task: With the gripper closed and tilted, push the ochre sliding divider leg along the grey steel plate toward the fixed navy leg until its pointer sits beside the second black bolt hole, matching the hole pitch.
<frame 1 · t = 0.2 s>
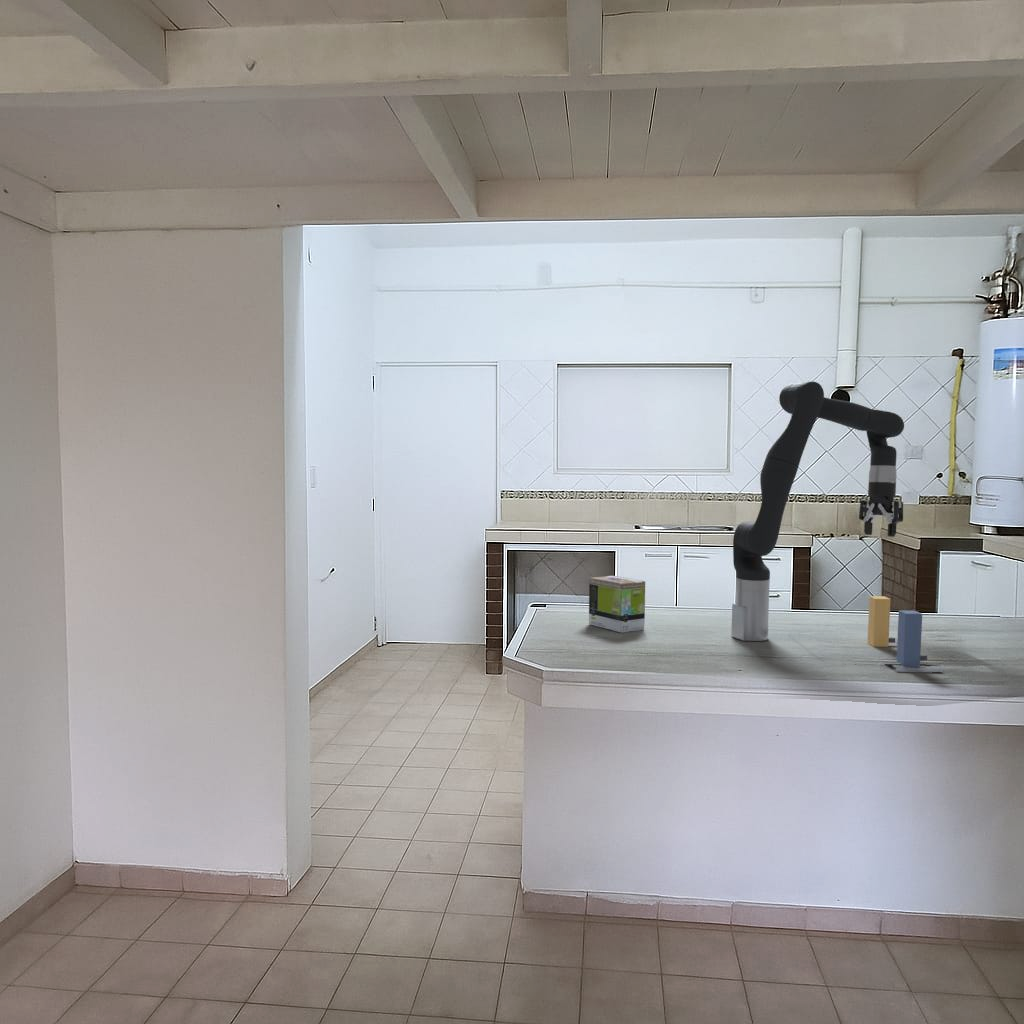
hand: (879, 535, 250), 28 cm above the worktop, fingers open, 8 cm apart
bolt plate: (896, 658, 217), on the worktop
tea box: (616, 627, 253), on the worktop
fixed leg: (907, 667, 208), resting on bolt plate
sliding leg: (883, 621, 226), point 8 cm above the worktop, slide at 0.0 cm
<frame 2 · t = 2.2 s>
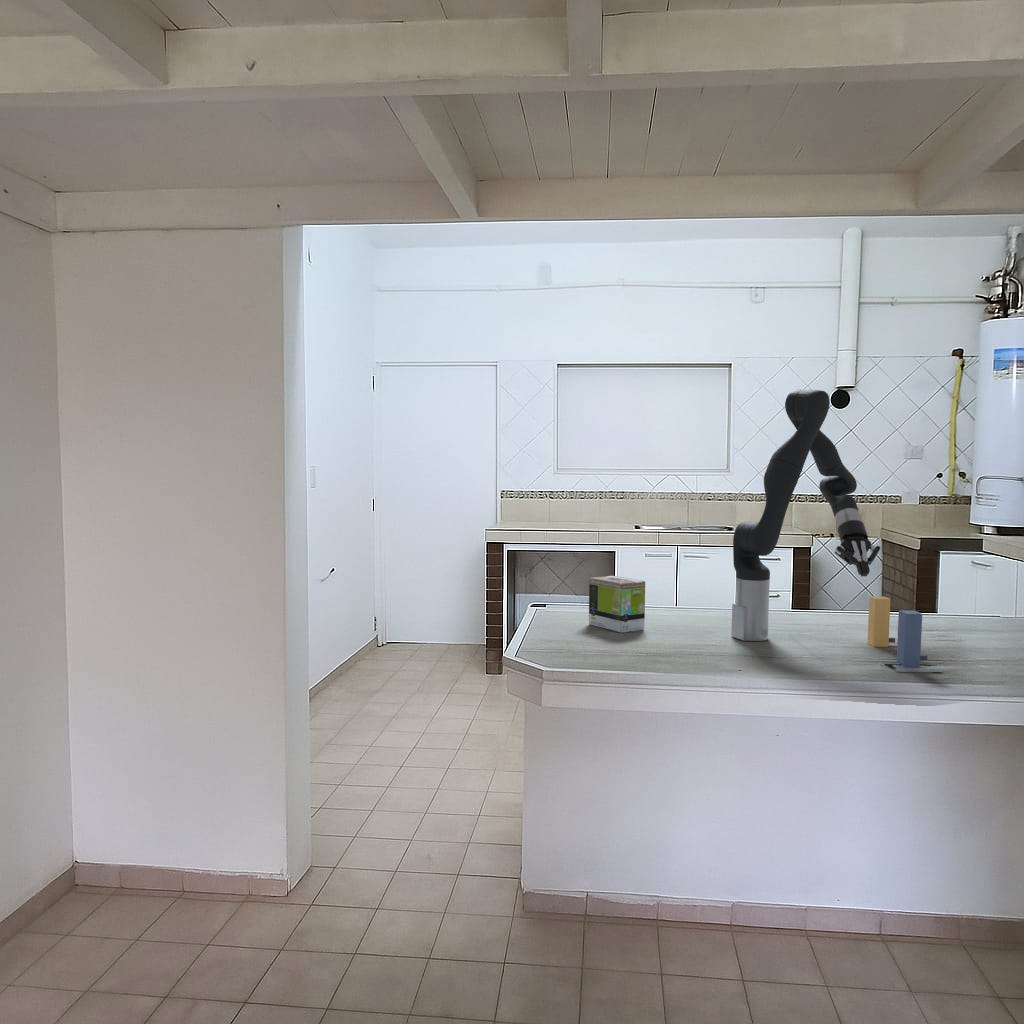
hand: (865, 574, 237), 19 cm above the worktop, fingers closed
nothing on the worktop moved.
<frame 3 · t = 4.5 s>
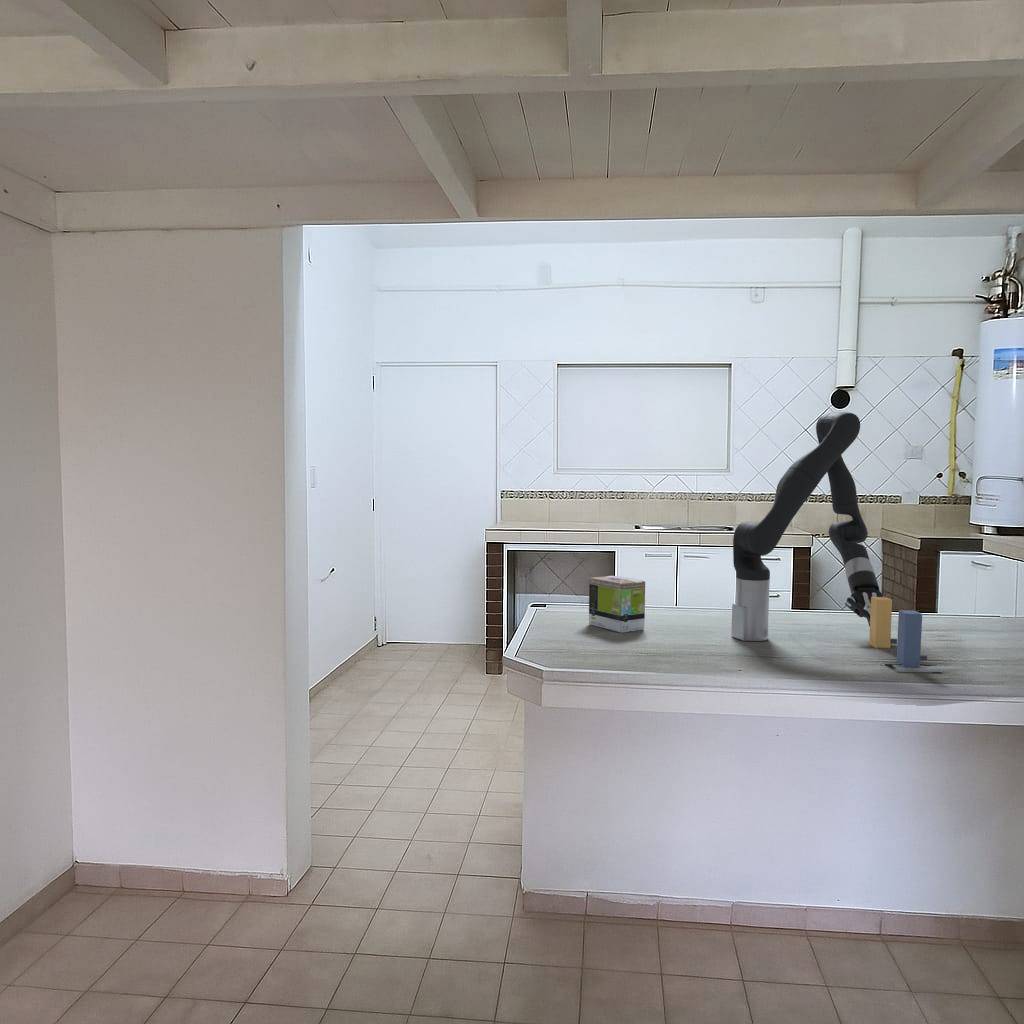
hand: (876, 628, 228), 5 cm above the worktop, fingers closed
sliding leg: (885, 622, 225), point 8 cm above the worktop, slide at 1.2 cm, touching gripper
everything else where it was.
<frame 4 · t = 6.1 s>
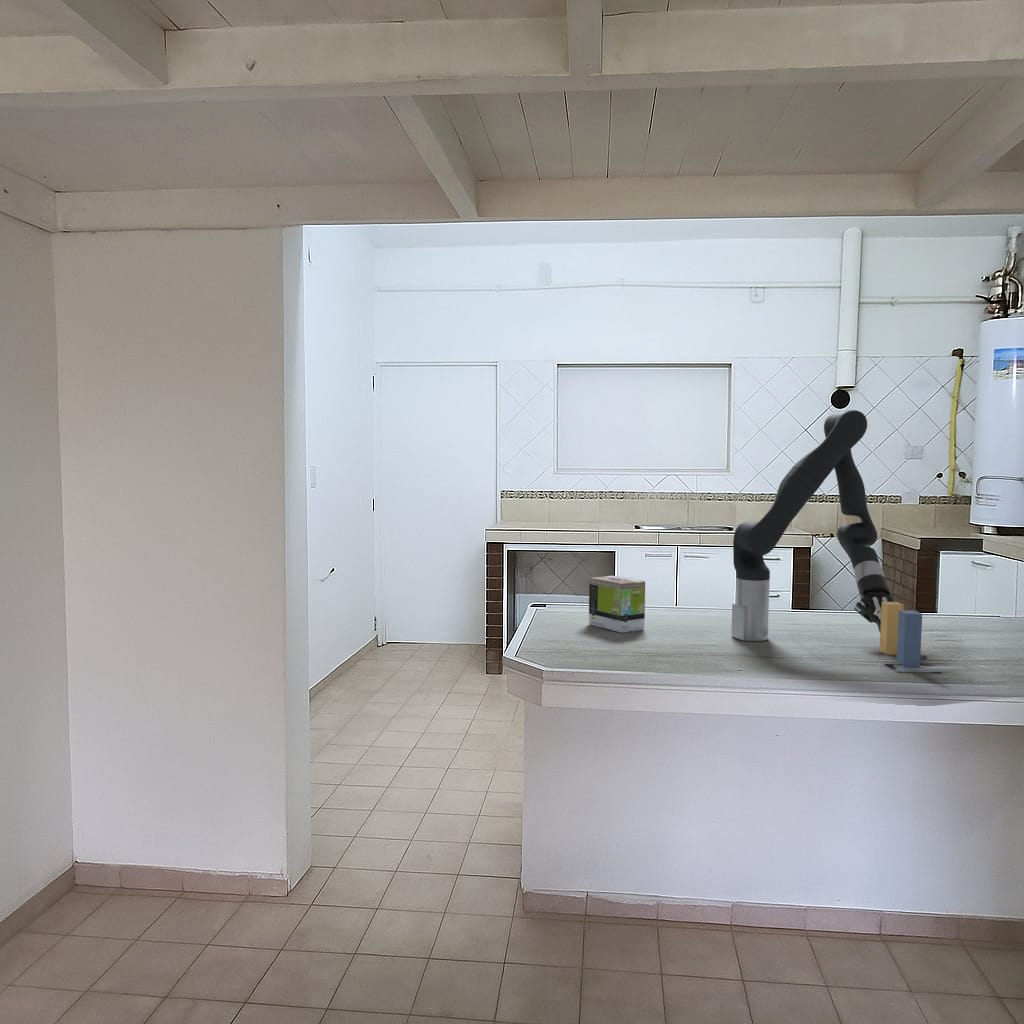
hand: (887, 634, 221), 5 cm above the worktop, fingers closed
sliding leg: (896, 628, 218), point 8 cm above the worktop, slide at 8.3 cm, touching gripper
everything else where it was.
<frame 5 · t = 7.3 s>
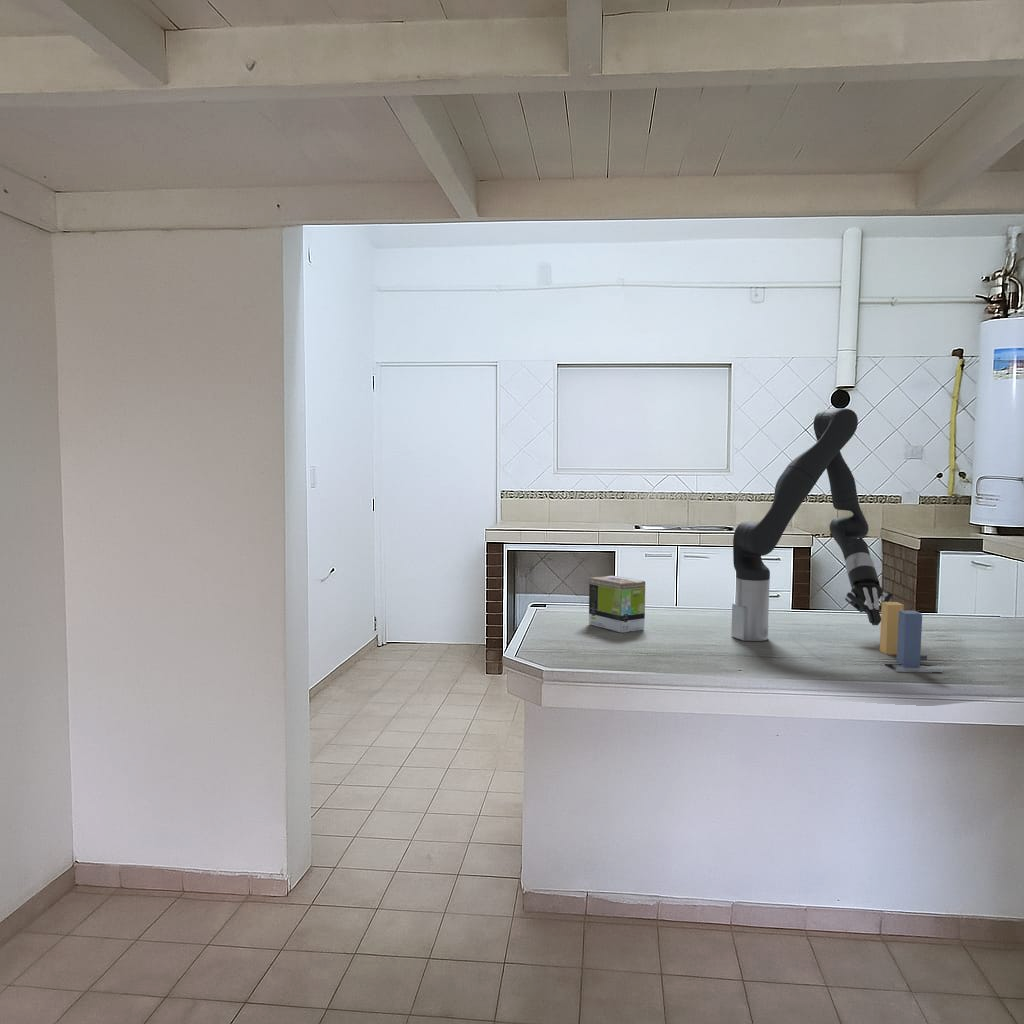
hand: (876, 623, 228), 7 cm above the worktop, fingers closed
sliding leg: (896, 628, 218), point 8 cm above the worktop, slide at 8.4 cm
everything else where it was.
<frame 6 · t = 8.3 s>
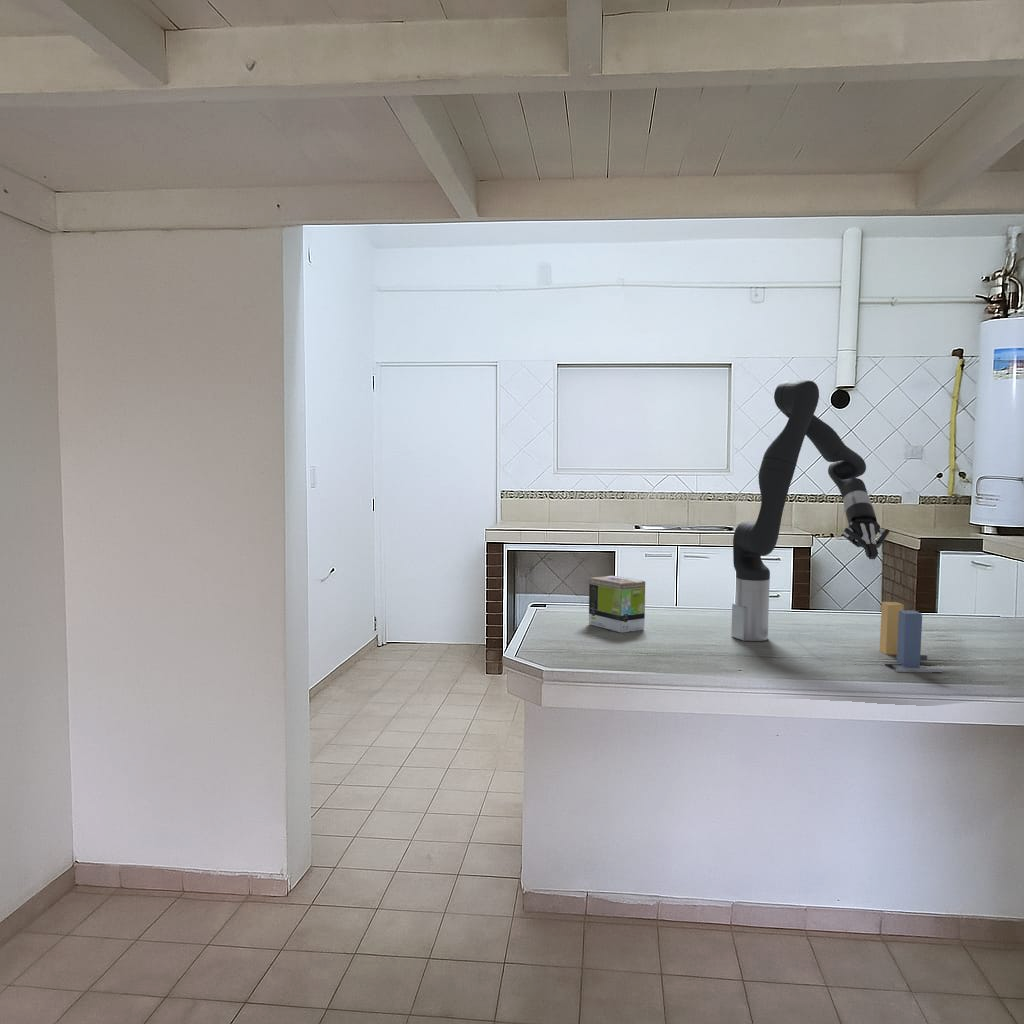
hand: (873, 557, 231), 24 cm above the worktop, fingers closed
nothing on the worktop moved.
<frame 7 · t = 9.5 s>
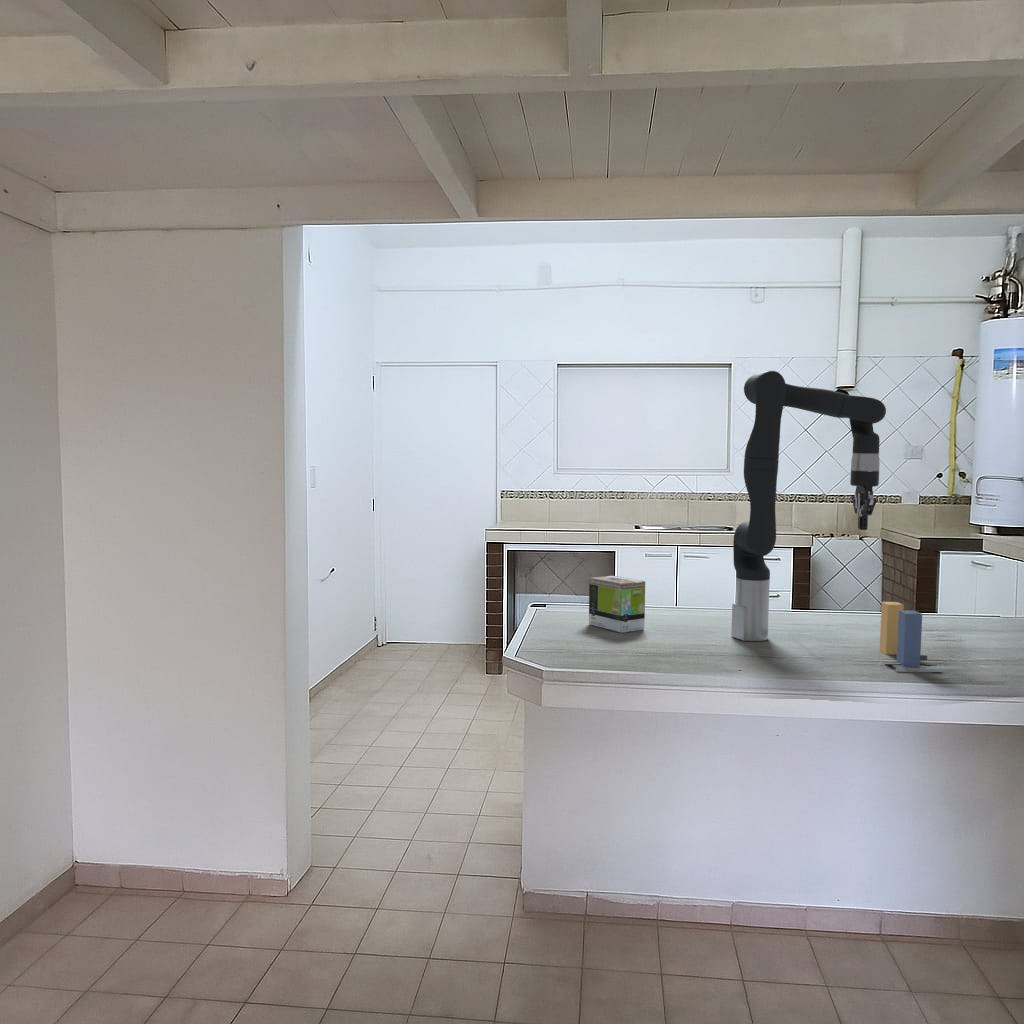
hand: (862, 529, 241), 31 cm above the worktop, fingers closed
nothing on the worktop moved.
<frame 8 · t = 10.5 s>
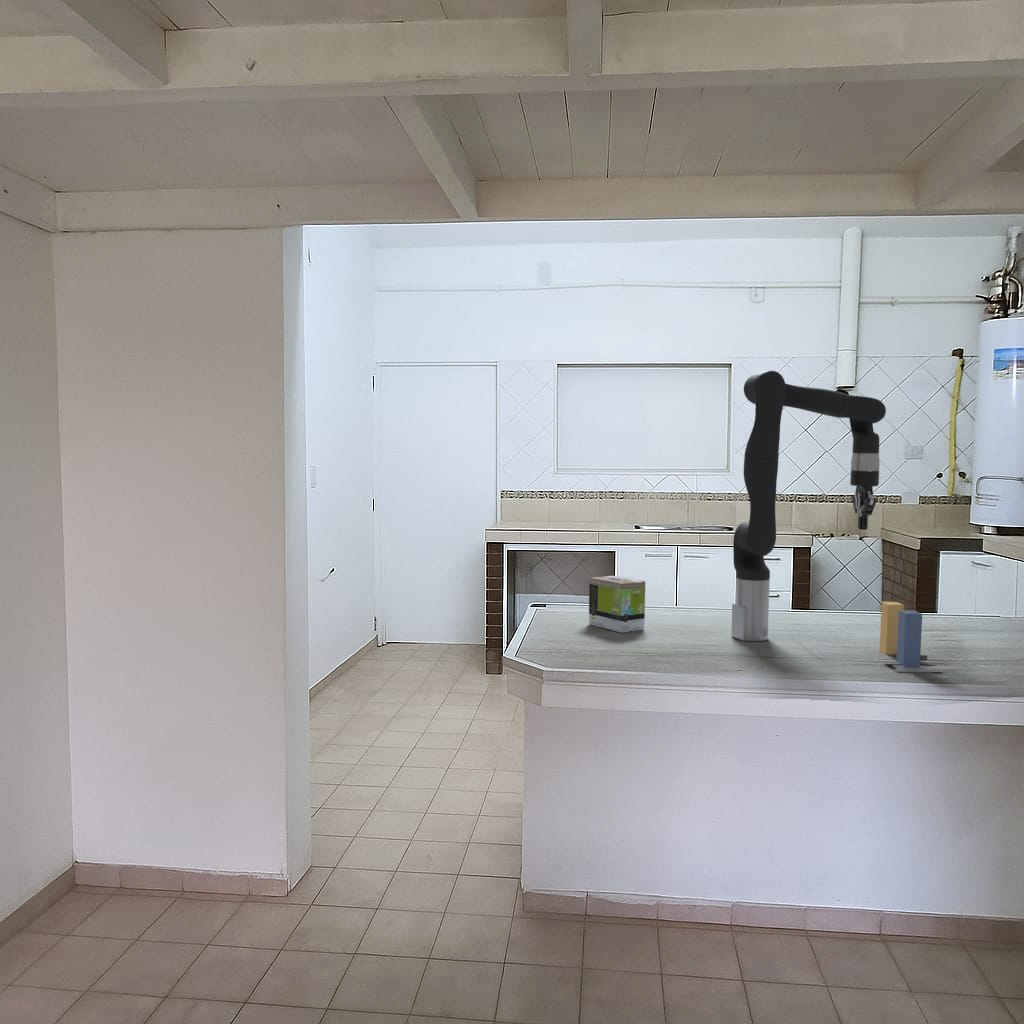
hand: (862, 529, 241), 31 cm above the worktop, fingers closed
nothing on the worktop moved.
at the end: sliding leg slide at 8.4 cm; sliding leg 0.3 cm from the target spot, point 7.7 cm above the worktop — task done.
